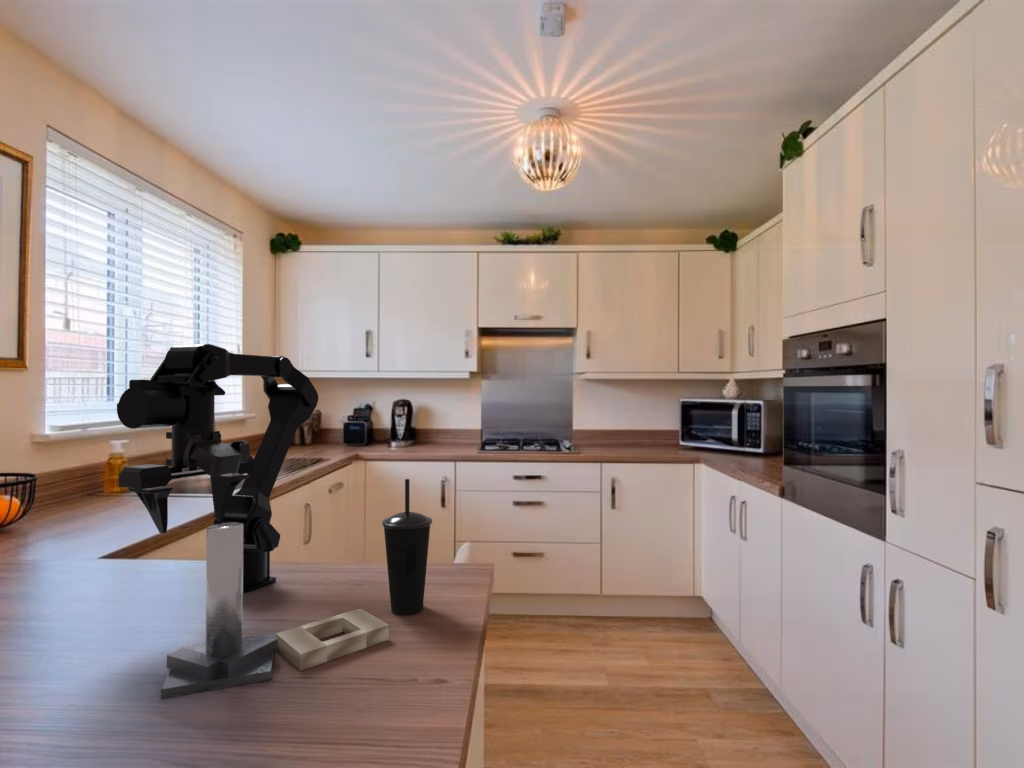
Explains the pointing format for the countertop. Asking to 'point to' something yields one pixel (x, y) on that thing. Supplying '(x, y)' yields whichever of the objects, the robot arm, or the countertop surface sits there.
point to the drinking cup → (407, 558)
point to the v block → (219, 666)
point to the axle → (224, 589)
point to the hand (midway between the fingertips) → (192, 526)
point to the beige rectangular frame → (310, 651)
